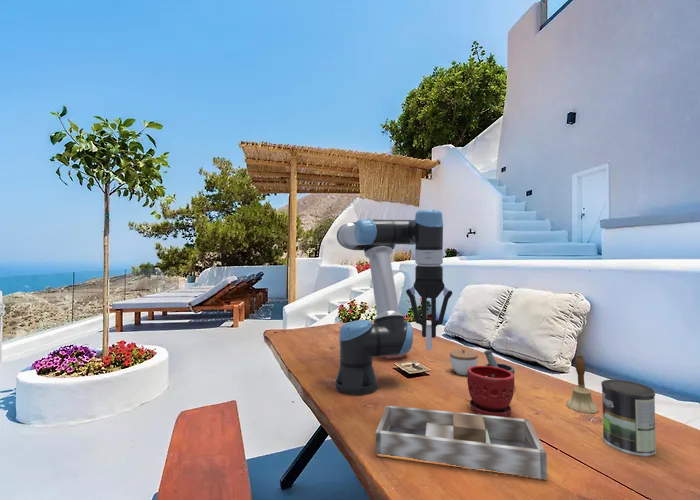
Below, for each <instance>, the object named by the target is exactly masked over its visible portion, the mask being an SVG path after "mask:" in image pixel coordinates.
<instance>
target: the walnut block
mask: <svg viewBox="0 0 700 500" xmlns="http://www.w3.org/2000/svg"><path fill="white" fill-rule="evenodd" d="M453 433H454V439H456V440H464V441H473V442H481V443H486V429H485V424H484V420H483V416H476V415H467V414H457V413H453Z"/></svg>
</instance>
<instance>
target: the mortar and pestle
mask: <svg viewBox="0 0 700 500" xmlns="http://www.w3.org/2000/svg"><path fill="white" fill-rule="evenodd" d="M483 354H484V356H486V359H487V364H484V366H492V367H497V368H502V369H505V370H508V371H510V372H512V373H513V374H514V375H515V368H514V367H513V366H511V365H508V364H505V363H499V362H497V361H496V359H495V357H494V354H493V351H492V349H487V350H485V351H484V352H483ZM491 376H492V377H494V376H495V375H494V374H492V375H491ZM486 377H488V376H486ZM500 378H501V377H500Z"/></svg>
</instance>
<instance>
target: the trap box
mask: <svg viewBox="0 0 700 500" xmlns="http://www.w3.org/2000/svg"><path fill="white" fill-rule="evenodd" d="M453 413H457V414H467V415H476V416H483V420H484V424H485V429H486V443H481V442H473V441H464V440H456V439H454V433H453ZM376 453H377V454H382V455H390V456H399V457H407V458H413V459H418V460H423V461H430V462H438V463H446V464H450V465H456V466H461V467H468V468H473V469H485V470H491V471H497V472H504V473H510V474H516V475H522V476H528V477H535V478H539V479H538V480H542V479H547V480H548V463H547V459H548V457H547V452H546V450H545V447H544V446H543V444H542V442H541V440H540V438H539V436H538V435H537V432H536V430H535V429H534V427H533V425H532V423H531V420H530V419H526V418H519V417H518V418H516V417H508V416H504V417H498V416H488V415H481V414H479V413H477V414H476V413H475V414H474V413H466V412H458V411H457V412H455V411H448V410H438V409H437V410H436V409H428V408H427V409H424V408H417V407H406V406H398V405H385V408H384V410H383V413H382V416H381V418H380V420H379V423H378V426H377V428H376V430H375V454H376ZM528 477H527V478H528ZM535 478H534V479H535Z"/></svg>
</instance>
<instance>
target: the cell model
mask: <svg viewBox="0 0 700 500" xmlns="http://www.w3.org/2000/svg"><path fill="white" fill-rule="evenodd" d="M405 355H406V354H401V355H397V356H396V355H391V356H383V357H384V358H385V359H388V360H389V359H390V360H393V359H400V358H402V357H404V356H405Z"/></svg>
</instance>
